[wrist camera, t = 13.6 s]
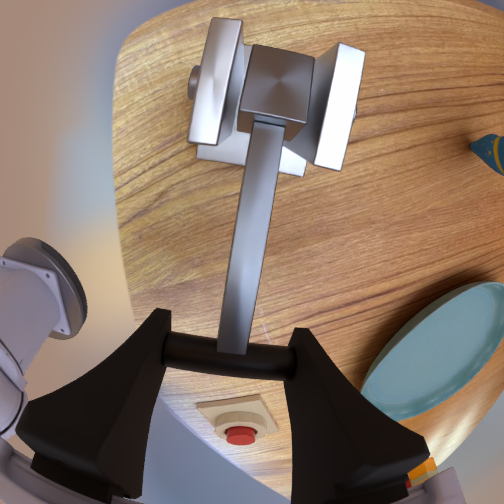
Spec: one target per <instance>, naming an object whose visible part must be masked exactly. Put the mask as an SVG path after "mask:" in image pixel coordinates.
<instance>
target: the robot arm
mask: <svg viewBox="0 0 504 504" xmlns="http://www.w3.org/2000/svg"><path fill="white" fill-rule="evenodd" d="M48 274H49V275H48ZM52 330H54V331H57V332H60V333H63V334H66V335H70V333H71V329H70V326H69V323H68V319H67V316H66V312H65V308H64V304H63V300H62V296H61V292H60V287H59V283H58V278H57V274H56V273H55V272H54V271H52V270H49V269H45V268H41V267H37V266H34V265H30V264H26V263H23V262H19V261H16V260H12V259H9V258H6V257H2V256H0V499H1V500H2V501H3V502H5V503H6V504H143V503H139V502H135V501H131V500H128V499H131V498H132V499H136V498H138V497H140V496H141V495H142V483H143V471H144V462H145V453H146V447H147V439H148V433H149V428H150V422H151V416H152V413H153V408H154V405H155V402H156V399H157V396H158V393H159V390H160V386H161V383H162V380H163V377H164V374H165V371H166V368H167V367H165V366H163V363H162V350H163V344H164V340H165V337H166V334H167V332H168V331H171V310H166V309H160V308H156V309H155V310H154V311H153V312H152V313H151V314H150V315H149V317H148V318H147V319H146V320H145V321H144V322H143V323H142V325H141V326H140V327H139V328H138V329H137V330H136V331H135V332H134V333H133V334H132V335H131V336H130V337H129V338H128V339H127V340H126V341H125V342H124V343H123V344H122V345H121V346H120V347H119V348H118V349H117V350H115V351H114V352H113V353H112V354H111V355H110V356H108V357H107V358H106V359H105V360H104V361H102V362H101V363H100V364H98V365H97V366H96V367H94V368H93V369H91V370H90V371H88V372H87V373H86V374H84V375H83V376H81V377H79V378H78V379H77V380H75V381H73V382H71V383H69V384H67V385H65V386H63V387H62V388H60V389H58V390H56V391H54V392H52V393H49V394H47V395H44V396H42V397H39V398H37V399H34V400H32V401H29V402H28V399H27V394H26V392H25V391H24V388H25V387H26V385H27V381H26V380H25V379H24V377H23V376H24V374H25V372H26V370H27V369H28V367H29V366H30V364H31V362H32V361H33V359H34V357H35V356H36V354H37V353H38V351H39V350H40V348H41V346H42V345H43V343H44V342H45V340H46V339H47V337H48V336H49V334H50V333H51V331H52ZM288 346H291V347H294V349H295V351H296V356H297V366H296V371H295V374H294V377H293V379H292V380H291V381H283V382H284V388H285V394H286V400H287V406H288V412H289V418H290V424H291V432H292V493H291V504H466V502H465V499H464V495H463V492H462V489H461V486H460V483H459V481H458V478H457V475H456V472H455V469H454V467H450V468H448V469H446V470H444V471H442V472H440V473H438V474H436V475H434V476H432V477H430V478H428V479H427V480H425V481H424V482H423V483H420V484H418V485H415V486H413V487H410V488H408V489H407V487H406V483H405V482H406V481H408V480H409V477H408V474H407V473H408V472H410V471H411V470H413V469H415V468H416V467H418V466H419V465H421V464H422V463H423V462H425V461H426V460H427V459H428V458H429V456H430V452H429V449H428V447H427V444H426V442H425V439H424V437H423V436H421V435H419V434H417V433H415V432H413V431H411V430H409V429H408V428H406V427H404V426H402V425H401V424H399V423H398V422H396V421H395V420H393V419H391V418H390V417H389V416H387V415H386V414H384V413H383V412H382V411H381V410H379V409H378V408H377V407H376V406H374V405H373V404H372V403H371V402H370V401H368V400H367V399H366V398H365V397H364V396H363V395H362V394H361V393H360V392H359V391H358V390H357V389H356V388H355V387H354V386H353V385H352V384H351V383H350V382H349V381H348V379H347V378H346V377H345V376H344V375H343V374H342V373H341V371H340V370H339V369H338V368H337V366H336V365H335V364H334V363H333V361H332V360H331V359H330V357H329V356H328V355H327V353H326V352H325V351H324V349H323V348H322V346H321V345H320V344H319V342H318V341H317V339H316V338H315V337H314V335H313V334H312V332H311V331H310V330H309V329H308V328H297V327H295V328H294V331H293V334H292V336H291V339H290V342H289V344H288ZM15 433H16V434H17V435H18V436H19V438H20V439H21V440H22V441H24V442H25V443H26V444H27V445H28V446H29V447H30V448H31V449H32V450H33V451H34V452H35V454H34V457H33V460H32V459H30V458H28V457H27V456H25V455H24V454H22V453H20V452H19V451H17V450H15V449H14V448H13V447H12V446H11V445H10V444H9V443H8V442H7V441H6V440H7V439H9V438H10V437H11V436H13V435H14V434H15ZM123 497H125V498H128V499H124V498H123Z"/></svg>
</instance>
